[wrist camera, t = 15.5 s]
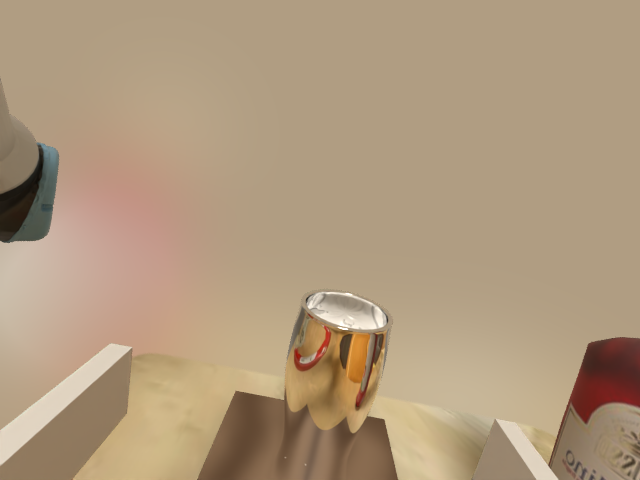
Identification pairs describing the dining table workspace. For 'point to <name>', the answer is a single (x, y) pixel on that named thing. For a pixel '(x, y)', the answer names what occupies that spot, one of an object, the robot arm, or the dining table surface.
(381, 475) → the walnut board
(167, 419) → the dining table surface
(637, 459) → the liquor
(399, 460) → the dining table surface
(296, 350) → the silver metal tumbler
